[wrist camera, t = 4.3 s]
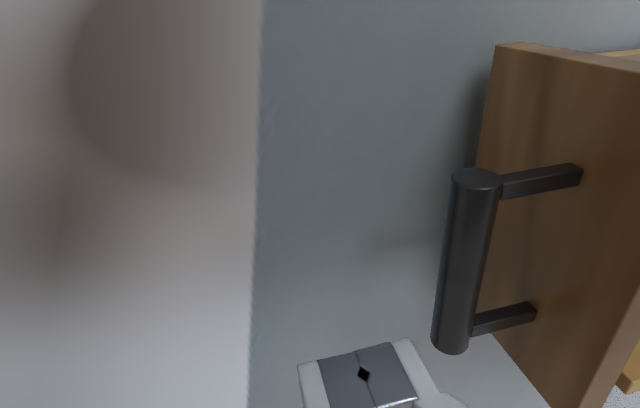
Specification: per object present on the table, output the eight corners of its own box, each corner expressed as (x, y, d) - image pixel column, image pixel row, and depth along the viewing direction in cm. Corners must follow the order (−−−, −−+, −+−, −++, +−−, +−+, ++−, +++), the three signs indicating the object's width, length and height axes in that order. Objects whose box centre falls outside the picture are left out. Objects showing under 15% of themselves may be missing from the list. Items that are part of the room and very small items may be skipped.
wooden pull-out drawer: (382, 305, 20) (466, 462, 13) (391, 55, 13) (560, 119, 7) (655, 241, 23) (833, 343, 16) (766, 14, 16) (1132, 31, 10)
